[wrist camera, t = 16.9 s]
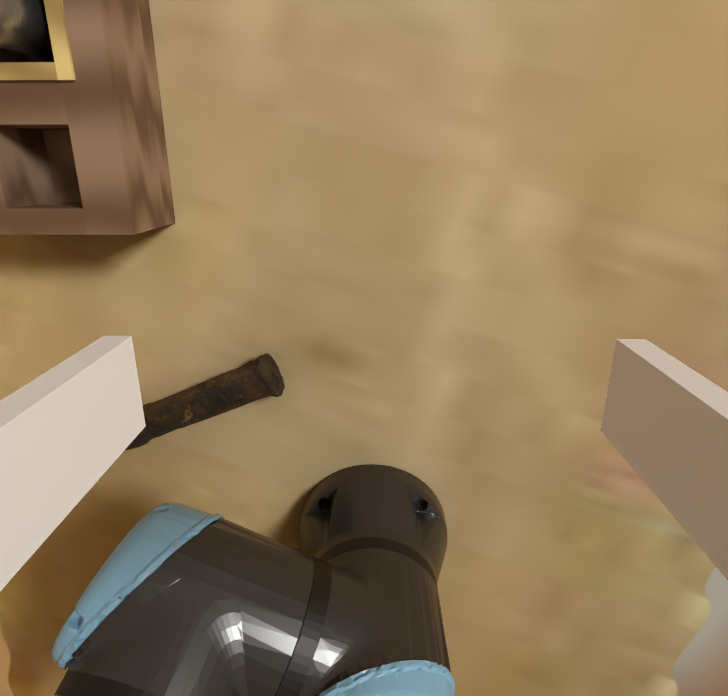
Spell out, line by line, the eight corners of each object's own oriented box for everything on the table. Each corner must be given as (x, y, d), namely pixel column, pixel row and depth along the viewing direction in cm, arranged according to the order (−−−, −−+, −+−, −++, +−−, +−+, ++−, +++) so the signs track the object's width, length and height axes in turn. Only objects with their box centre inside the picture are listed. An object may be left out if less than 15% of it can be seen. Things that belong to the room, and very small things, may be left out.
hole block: (175, 223, 44) (131, 235, 36) (36, 222, 44) (-37, 235, 36) (145, -28, 38) (85, -77, 30) (-16, -26, 38) (-116, -75, 30)
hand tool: (272, 345, 48) (262, 363, 44) (289, 383, 49) (280, 404, 45) (95, 406, 50) (68, 429, 46) (115, 440, 52) (90, 466, 47)
